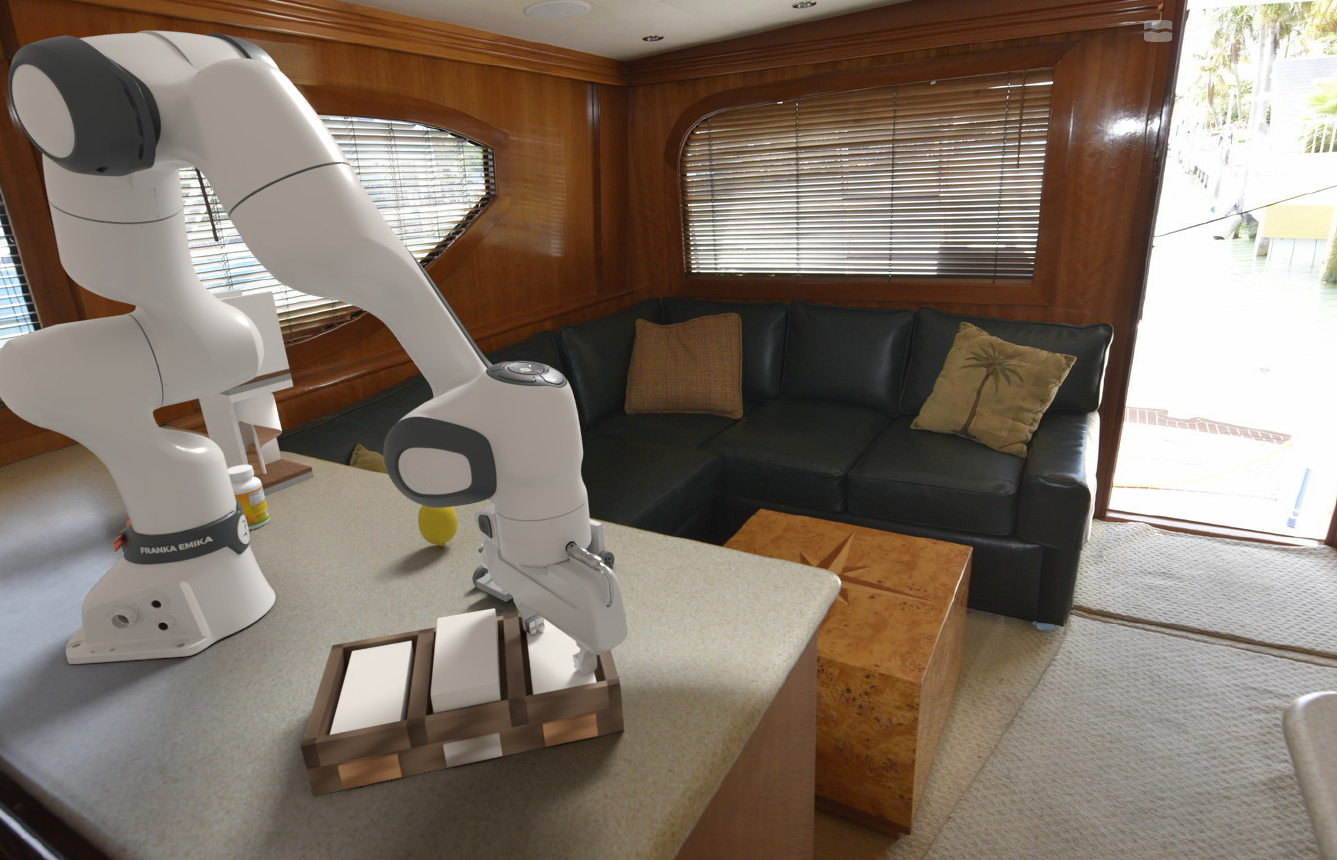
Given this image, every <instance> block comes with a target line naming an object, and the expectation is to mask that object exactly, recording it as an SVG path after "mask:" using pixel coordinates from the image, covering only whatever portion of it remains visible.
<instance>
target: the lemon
mask: <svg viewBox="0 0 1337 860" xmlns="http://www.w3.org/2000/svg"><path fill="white" fill-rule="evenodd" d="M458 522H459V521H458V516H457V513H456V510H455V508H454V506H453V507H444V508H432V507H426V506H423V505H420V509H419V511H418V515H417V525H418V528H419V532H420V535H421V536H422V538H423V539H424V540H425V541H426V542H428V543H430V544H433V545H437V546H439V547H444V546H445V545H446V543H448V542H450V541H451V540H452V539H453V538H454V537H455V536H456V534H457V532H458Z"/></svg>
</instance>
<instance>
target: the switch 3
mask: <svg viewBox="0 0 1337 860" xmlns="http://www.w3.org/2000/svg"><path fill="white" fill-rule="evenodd" d="M544 625H545V629H544V631H543V632H541V633H537V635H535V636H532V635H530V634H529V633H528V632H527V641H528V650H529V660H530V669H531V678H532V687H533V695H534V694H540V693H545V692H550V691H555V690H560V689H565V688H570V687H575V686H580V685H585V684H590V683H596V678H595V674H594V671H593V672H591V673H589V674H588V675H583V674H581V673H580V672H579V671H578V670H576V669H575V668H574V661H573V655H575V654H576V653H578V652H579V651H580V648H579V647H577V645H576V641H575V640H573V639H572V638H571V637H569V636H568V635H566V634H565V633H564V632H562V631H561V630H559V629H558V628H557V627H555V626H554V625H552V624H551V623H550V622H548V621H547V620H545V619H544Z"/></svg>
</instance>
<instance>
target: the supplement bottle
mask: <svg viewBox="0 0 1337 860" xmlns="http://www.w3.org/2000/svg"><path fill="white" fill-rule="evenodd" d="M228 472H229V476H230V480H231V484H232V488H233V491H234V495H235V499H237V500H238V501H239V502H240V504H241V507H242V510H243V514H244V516H245V518H246V521H247V524H248V529H249V531H250V530H254V529H258V528H261V527H263V526H264V525H266V524H268V523H269V522H270V519H271V516H270V511H269V508H268V504H267V500H266V497H265V496H266V495H265V496H264V492H263V487H262V484H261V481H260V479H258V478H257V477H253V475H254V471H253V468H252V466H251V465H238V466H234V467H231V468H229V469H228Z"/></svg>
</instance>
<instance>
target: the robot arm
mask: <svg viewBox="0 0 1337 860" xmlns="http://www.w3.org/2000/svg"><path fill="white" fill-rule="evenodd" d="M7 78H8V79H7V82H8V83H7V86H8V87H7V88H8V94H9V98H10V102H11V105H12V108H13V111H14V114H15V116H16V118H17V121H18V123H19V124H20V126H21V128H22V129H23V132H24V133H25V135H26V136H27V138H28V139H29V140H30V142H31V143H32V144H33V145H34V146H35V148H36V149H37V150H38V151H40V153H42V167H43V176H44V184H45V189H46V195H47V200H48V205H49V209H50V215H51V220H52V224H53V230H54V234H55V239H56V240H55V241H56V244H57V249H58V255H59V259H60V264H61V266H62V268H63V269H64V270H65V272H66V273H67V275H68V276H69V277H70V278H71V280H73V281H74V282H75V283H76V284H77V285H79V286H80V287H82V288H84V289H85V290H87V291H89V292H91V293H93V294H96V295H98V296H100V297H103V298H106V299H109V300H111V301H116V302H119V303H125V304H129V305H131V306H132V305H133V306H135V308H134V309H135V310H133V311H132V312H129V313H126V314H120V315H114V316H108V317H99V318H93V319H92V318H91V319H88V320H87V319H86V320H80V321H79V320H78V321H73V322H66V323H65V322H64V323H60V324H59V323H58V324H54V325H51V326H48V327H44V328H41V329H38V330H33V331H31V332H29V333H26V334H22V335H21V336H20V335H19V336H18V337H17V336H16V337H14V338H11V339H8V340H7V341H5V343H4V344H3V345H2V347H1V349H0V398H1V400H2V402H3V403H4V404H5V405H6V406H7V408H8V409H9V410H11V411H12V413H13V414H15V415H17V416H18V417H19V418H21V419H22V420H23V421H25V422H28V423H30V424H32V425H34V426H37V427H40V428H43V429H47V430H50V431H53V432H56V433H59V434H62V435H64V436H66V437H67V438H70V439H72V440H74V441H75V442H78V443H79V444H80V445H83V446H84V448H85V447H86V448H87V449H88V450H89V451H90V452H91V453H93V455H95V456H96V457H97V458H98V459H99V461H101V462H102V463H103V465H104V466H105V467H106V468H107V470H108V471H109V473H110V474H111V476H112V479H113V480H114V483H115V484H116V487H117V490H118V492H119V495H120V497H121V499H122V501H123V503H124V507H125V510H126V512H127V515H128V519H127V521H126V526H125V527H124V528H123V529H121V530H120V531H119V533H117V538H115V540H114V541H112V544H111V545H112V546H114V547H113V552H114V553H117V552H118V551H119V550H120V549H122V552H123V556H122V557H121V558H120V559H119V560H118V561H117V562H116V563H115V564H113V566H112V567H110V569H108V571H106V572H105V574H104V575H102V577H101V578H100V579H99V580H97V582H96V583H95V584H94V585H93V586H92V588H90V590H89V591H88V593H87V595H86V596H85V598H84V600H83V603H82V607H81V625H80V626H79V627H78V628H77V630H76V631H74V633H73V635H72V636H71V637H70V638H69V641H68V642H67V645H66V647H65V657H66V658H65V659H66V661H67V662H68V664H70V665H78V664H95V663H107V662H108V663H109V662H121V661H122V662H123V661H124V662H125V661H136V660H151V659H164V658H179V657H188V656H193V655H195V654H198V653H200V652H201V651H203V650H204V649H207V648H209V646H211V645H212V644H214V643H216V642H217V641H219V640H222V639H224V638H225V637H227V636H230V635H232V634H235V633H237V632H239V631H241V630H243V629H245V628H247V627H248V626H250V625H252V624H254V623H255V622H257V621H258V620H259V619H260V618H262V617H263V616H264V615H265V614H267V613H268V612H269V610H270V609H272V607H273V606H274V604H275V601H276V598H277V597H276V593H275V591H274V589H273V588H272V586H270V584H269V583H268V581H267V579H266V577H265V575H264V574H263V572H262V571H261V568H260V566H259V564H258V562H257V560H256V558H255V554H254V552H253V550H252V548H251V545H250V543H251V538H250V530H249V529H248V524H247V521H246V518H245V516H244V514H243V510H242V507H241V504H240V502H239V501H238V500H237V499H235V495H234V491H233V488H232V484H231V480H230V476H229V472H228V469H227V465H226V461H225V458H224V454H223V452H222V450H221V449H220V447H219V446H218V445H217V444H216V443H215V442H213V441H212V440H211V439H209V437H206V436H204V435H201V434H198V433H193V432H189V431H184V430H178V429H177V430H176V429H168V428H165V427H164V428H162V427H160V426H159V425H158V424H157V422H156V419H155V417H154V413H153V412H154V411H155V410H157V409H160V408H163V407H167V406H172V405H176V404H180V403H181V404H182V403H184V402H188V401H193V400H197V399H198V400H199V398H202V397H207V396H211V395H216V394H219V393H222V392H224V391H227V390H229V389H231V388H234V387H236V386H238V385H241V384H243V383H245V382H247V381H249V380H252V379H254V378H255V377H256V375H257V374H258V372H259V370H260V368H261V365H262V362H263V357H264V347H263V341H262V338H261V335H260V333H259V331H258V329H257V327H256V326H255V324H254V323H253V322H252V320H251V319H250V318H249V317H248V316H247V315H246V314H244V313H243V312H242V311H240V310H239V309H237V308H235V307H233V306H231V305H228V304H226V303H224V302H222V301H221V300H219V299H218V298H216V297H215V296H214V295H213V294H212V293H211V292H210V290H208V288H207V287H206V286H205V285H204V284H203V282H202V281H201V280H200V277H198V274H197V273H196V270H195V268H194V267H195V266H194V265H193V261H192V255H191V250H190V245H189V239H188V234H187V228H186V226H187V225H186V219H185V218H186V217H185V208H184V197H183V191H182V183H181V178H180V170H182V169H190V168H193V167H194V168H196V169H197V170H198V171H199V172H200V173H201V174H202V175H203V176H204V178H205V179H206V181H207V182H208V184H209V186H210V188H211V190H212V191H213V194H214V195H215V197H216V198H217V200H218V202H219V203H220V205H221V207H222V209H223V211H225V214H226V215H227V218H229V220H230V222H231V223H232V225H233V227H234V228H235V230H236V232H237V233H238V235H239V236H240V238H241V240H242V241H243V242H244V244H245V246H246V248H247V249H248V250H249V252H250V253H251V255H252V256H253V257H254V258H255V259H256V260H257V261H258V263H259V264H260V265H261V266H262V267H263V268H264V269H265V270H266V271H267V272H268V274H270V275H271V276H272V277H273V278H274V279H275V280H276V281H277V282H278V283H280V284H282V285H284V286H285V287H287V288H290V289H291V290H294V291H297V292H299V293H302V294H305V295H309V296H313V297H319V298H323V299H324V298H325V299H329V300H335V301H338V302H342V303H345V304H349V305H351V306H354V307H356V308H360V309H362V310H364V311H365V312H368V313H370V315H373V316H374V317H376V318H377V319H379V320H380V321H381V322H382V323H384V325H385V326H386V327H387V328H388V329H389V330H390V331H391V333H392V334H393V335H394V337H396V339H397V340H398V342H399V343H400V345H401V347H402V348H403V349H404V351H405V352H406V353H407V354H408V356H409V357H410V359H411V360H412V361H413V363H414V364H415V366H416V367H417V368H418V370H419V371H420V373H421V374H422V375H423V377H424V378H425V379H426V381H427V382H428V384H429V386H430V388H431V390H432V394H433V398H431V399H429V400H428V401H425V402H423V403H422V404H420V405H419V406H418V407H416V408H414V409H412V410H411V411H410V412H408V413H406V414H405V415H404V416H403V417H401V419H400V420H398V421H397V422H396V423H395V424H394V425H393V426H392V427H391V428H390V429H389V430H388V432H387V434H386V436H385V438H384V443H383V452H382V453H383V460H384V461H383V462H384V467H385V470H386V472H387V474H388V476H389V479H390V480H391V482H392V484H393V485H394V487H396V489H397V490H398V491H399V492H400V493H401V494H402V495H403V496H405V497H406V498H407V499H409V500H410V501H412V502H413V503H416V504H417V505H420V506H422V505H423V506H426V507H432V508H444V507H453V508H454V507H458V506H459V507H460V506H466V505H471V504H475V503H477V504H478V503H480V502H483V501H486V500H489V501H491V502H492V504H491V505H488V506H486V507H484V508H481V509H479V510H476V511H475V513H474V520H475V525H476V528H477V530H478V531H480V532H481V542H482V543H481V544H482V545H483V550H484V556H485V560H486V565H487V569H488V572H489V574H490V576H491V578H492V580H493V582H494V583H495V584H496V585H497V586H499V587H500V588H502V589H503V590H505V591H506V592H507V593H509V594H510V595H512V596H513V598H512V599H513V603H514V604H515V606H516V609H517V612H518V613H520V615H521V617H522V621H523V628H524V630H525V631H526V632H528V633H529V634H530V635H532V636H535V635H537V633H541V632H543V631H544V629H545V625H544V619H545V620H547V621H548V622H550V623H551V624H552V625H554V626H555V627H557V628H558V629H559V630H561V631H562V632H564V633H565V634H566V635H568V636H569V637H571V638H572V639H573V640H575V641H576V645H577V647H579V648H580V651H579V652H578V653H576V654H575V655H573V661H574V668H575V669H576V670H578V671H579V672H580V673H581V674H583V675H588V674H589V673H591V672H593V671H595V670H596V668H597V657H596V655H600V654H603V653H605V652H607V651H609V650H612V649H614V648H615V647H617V646H620V645H621V644H622V643H623V642H624V641H625V640H626V638H627V637H628V634H629V631H628V630H629V629H628V621H627V616H626V610H625V603H624V599H623V594H622V589H621V586H620V582H619V580H618V578H617V576H616V574H615V573H614V571H613V570H612V569H611V568H609V567H607V566H606V565H604V561H603V560H602V559H601V558H600V557H599V556H597V555H595V554H591V553H590V552H588V551H587V550H586V548H587V547H588V546H589V544H590V543H591V528H590V519H591V517H590V509H589V497H588V491H587V488H586V485H585V483H584V481H583V477H582V471H581V470H582V462H583V458H584V449H583V440H582V433H581V432H582V431H581V426H580V420H579V414H578V409H577V405H576V400H575V397H574V393H573V390H572V387H571V385H570V383H569V381H568V379H567V378H566V377H565V375H564V374H563V373H562V372H560V371H559V370H557V369H555V368H554V367H552V366H550V365H549V364H548V365H547V364H544V363H540V362H535V361H527V360H515V361H502V362H498V363H495V364H493V363H491V362H490V361H489V360H488V358H487V357H486V356H485V355H484V354H483V353H482V351H481V349H479V347H478V345H477V344H476V343H475V341H474V340H473V337H472V336H471V335H470V333H469V332H468V331H467V329H466V328H465V326H464V325H463V324H462V322H461V320H460V319H459V317H458V316H457V314H456V313H455V312H454V310H453V308H452V307H451V305H450V304H449V302H448V301H447V300H446V298H445V297H444V295H443V294H442V293H441V290H439V288H438V287H437V285H436V283H435V282H434V281H433V280H432V278H431V276H430V275H429V274H428V272H427V271H426V270H425V269H424V267H423V266H422V264H421V263H420V262H419V260H417V258H416V257H415V256H414V254H413V253H412V252H411V250H409V249H408V247H407V246H406V245H405V244H404V243H403V242H402V240H401V239H400V238H399V237H398V235H397V234H396V233H395V231H393V229H392V228H391V226H390V225H389V224H388V222H387V221H386V219H385V217H384V216H383V215H382V214H381V212H380V210H379V209H378V207H377V205H376V204H375V203H374V201H373V199H372V198H371V196H370V195H369V193H368V192H367V190H366V188H365V186H363V184H362V182H361V180H360V178H359V177H358V175H357V173H356V172H355V170H354V168H353V166H352V165H351V163H350V161H349V159H348V158H347V157H346V154H345V153H344V152H343V150H342V148H341V147H340V145H339V144H338V142H337V140H336V139H335V137H334V136H333V135H332V133H331V131H330V130H329V128H328V127H327V126H326V124H325V123H324V122H323V120H322V119H321V118H320V116H319V115H318V113H317V112H316V111H315V109H314V108H313V106H311V104H310V103H309V102H308V100H307V99H306V98H305V97H304V95H303V94H302V93H301V92H300V91H299V90H298V88H297V87H296V86H295V85H294V84H293V82H292V81H291V80H290V79H289V78H288V77H287V76H286V75H285V74H284V73H283V72H282V71H281V70H280V68H279V67H278V65H277V63H276V62H275V61H274V59H273V58H272V57H271V56H270V55H269V54H268V53H267V52H266V51H265V50H264V49H263V48H262V47H260V46H258V45H256V44H254V43H253V42H250V41H247V40H245V39H243V38H239V37H236V36H232V35H227V34H222V33H216V32H214V33H213V32H211V33H207V34H198V33H197V34H196V33H191V32H181V31H167V30H141V31H138V32H133V33H131V32H130V33H129V32H128V33H127V32H126V33H112V34H102V35H94V36H85V37H80V38H78V37H75V36H71V35H61V36H53V37H50V38H46V39H41V40H38V41H35V42H31V43H28V44H26V45H23V46H22V47H20V48H19V49H18V50H17V51H16V53H15V54H14V56H13V57H12V61H11V64H10V67H9V72H8V77H7Z"/></svg>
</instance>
